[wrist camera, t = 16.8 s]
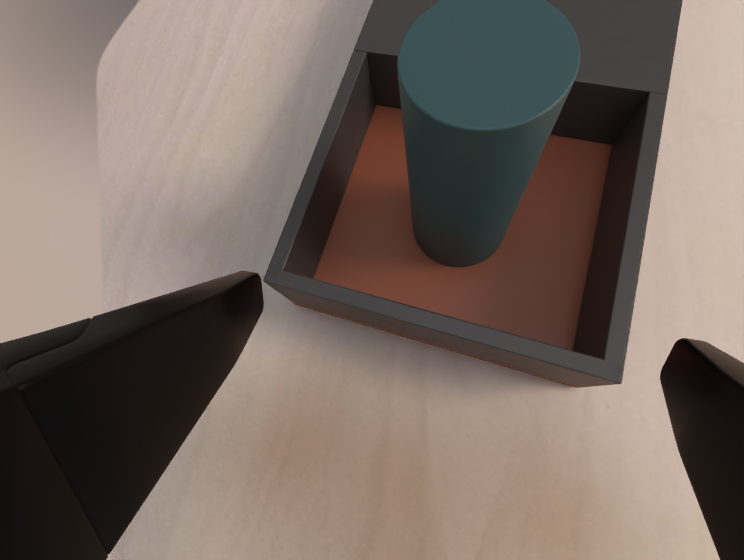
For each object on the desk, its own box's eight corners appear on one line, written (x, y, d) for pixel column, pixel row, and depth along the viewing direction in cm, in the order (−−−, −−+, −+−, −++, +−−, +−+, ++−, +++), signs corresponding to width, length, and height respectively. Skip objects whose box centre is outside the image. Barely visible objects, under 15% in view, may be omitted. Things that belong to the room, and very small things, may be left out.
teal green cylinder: (524, 229, 22) (622, 54, 11) (452, 285, 22) (476, 164, 11) (463, 168, 24) (494, -40, 13) (395, 219, 24) (362, 53, 12)
